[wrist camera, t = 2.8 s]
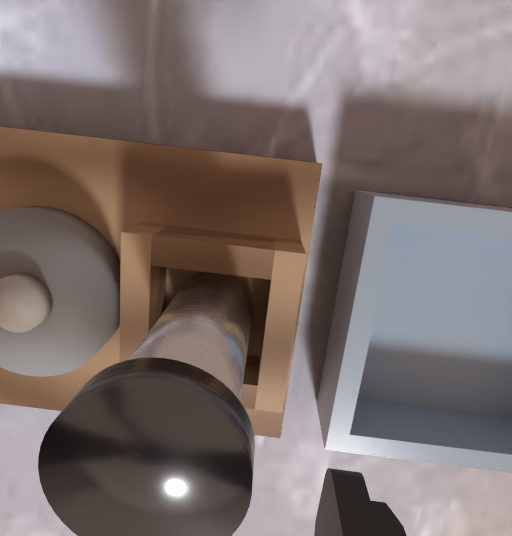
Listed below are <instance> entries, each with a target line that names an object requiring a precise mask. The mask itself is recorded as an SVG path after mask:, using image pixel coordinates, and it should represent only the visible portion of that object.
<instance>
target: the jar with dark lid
mask: <svg viewBox="0 0 512 536" xmlns="http://www.w3.org/2000/svg"><path fill="white" fill-rule="evenodd" d="M252 313H253V300H252V296H251V293H250V291H249V289H248V288H247V286H246V285H245V284H244V282H243V281H242V280H241V279H239V278H238V277H237V276H235V275H226V274H218V273H210V272H198V273H196V274H194V275H193V276H192V277H190V278H189V279H188V280H187V281H186V282H185V283H184V285H183V286H182V287H181V289H180V290H179V292H178V293H177V294H176V296H175V297H174V298H173V300H172V301H171V302H170V304H169V305H168V307H167V308H166V309H165V311H164V312H163V313H162V315H161V316H160V318H159V319H158V320H157V322H156V323H155V324H154V326H153V327H152V329H151V330H150V331H149V333H148V334H147V335H146V337H145V338H144V339H143V341H142V342H141V344H140V345H139V346H138V348H137V349H136V350H135V352H134V353H133V355H132V356H131V357H130V359H129V360H126V361H123V362H120V363H116V364H114V365H112V366H110V367H107V368H105V369H103V370H102V371H100V372H99V373H97V374H96V375H94V376H93V377H92V378H91V379H90V380H89V381H88V382H87V383H86V384H85V385H84V386H83V387H82V388H81V390H80V391H79V392H78V393H77V394H76V395H75V397H74V398H73V399H72V400H71V401H70V403H69V404H68V405H67V406H66V407H65V408H64V410H63V411H62V412H61V413H60V414H59V416H58V417H57V418H56V419H55V420H54V422H53V423H52V424H51V425H50V427H49V429H48V431H47V432H46V434H45V436H44V439H43V441H42V444H41V447H40V453H39V462H38V470H39V477H40V482H41V485H42V489H43V492H44V494H45V496H46V498H47V500H48V502H49V504H50V506H51V507H52V509H53V510H54V512H55V513H56V514H57V516H58V517H59V518H60V519H61V521H62V522H63V523H64V524H65V525H66V526H67V527H68V528H69V529H70V530H71V531H73V532H74V533H75V534H76V535H78V536H231V535H232V534H233V533H234V532H235V531H236V530H237V528H238V527H239V526H240V524H241V522H242V521H243V519H244V518H245V515H246V513H247V510H248V508H249V505H250V500H251V495H252V480H253V464H254V448H255V441H254V432H253V428H252V424H251V421H250V419H249V416H248V414H247V412H246V410H245V408H244V407H243V405H242V403H241V394H242V387H243V380H244V372H245V365H246V357H247V350H248V343H249V335H250V328H251V321H252Z"/></svg>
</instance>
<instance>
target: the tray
mask: <svg viewBox="0 0 512 536" xmlns="http://www.w3.org/2000/svg"><path fill="white" fill-rule="evenodd" d="M317 408H318V414H319V419H320V425H321V430H322V436H323V441H324V447H325V450H332V451H340V452H349V453H357V454H365V455H373V456H381V457H389V458H397V459H405V460H413V461H421V462H429V463H437V464H445V465H453V466H461V467H469V468H477V469H485V470H494V471H502V472H510V473H512V208H509V207H501V206H492V205H483V204H475V203H466V202H457V201H449V200H440V199H432V198H423V197H414V196H406V195H397V194H388V193H380V192H371V191H363V190H355V193H354V198H353V204H352V209H351V215H350V221H349V226H348V232H347V237H346V243H345V248H344V254H343V259H342V265H341V270H340V276H339V281H338V287H337V292H336V298H335V303H334V309H333V315H332V320H331V326H330V331H329V337H328V342H327V348H326V353H325V359H324V364H323V370H322V375H321V381H320V386H319V392H318V398H317Z"/></svg>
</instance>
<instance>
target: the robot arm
mask: <svg viewBox="0 0 512 536" xmlns="http://www.w3.org/2000/svg"><path fill="white" fill-rule="evenodd" d="M315 536H406V533H405V530H404V527H403V525H402V524H401V523H400V521H399V520H398V519H397V517H396V516H395V515H394V513H393V512H392V511H391V509H390V508H389V507H388V505H387V504H386V503H383V502H376V501H370V498H369V494H368V491H367V487H366V484H365V480H364V477H363V475H362V474H361V473H359V472H352V471H345V470H337V469H330V468H328V469H327V471H326V474H325V479H324V483H323V488H322V493H321V498H320V503H319V508H318V512H317V517H316V524H315Z"/></svg>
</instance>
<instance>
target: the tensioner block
mask: <svg viewBox="0 0 512 536" xmlns="http://www.w3.org/2000/svg"><path fill="white" fill-rule="evenodd" d="M321 169H322V163H313V162H304V161H296V160H287V159H278V158H269V157H261V156H252V155H243V154H235V153H226V152H217V151H209V150H200V149H191V148H183V147H174V146H165V145H157V144H148V143H139V142H130V141H122V140H113V139H104V138H96V137H87V136H78V135H70V134H61V133H52V132H44V131H35V130H26V129H17V128H9V127H0V403H2V404H10V405H18V406H26V407H34V408H42V409H50V410H58V411H63V410H64V408H65V407H66V406H67V405H68V404H69V403H70V401H71V400H72V399H73V398H74V397H75V395H76V394H77V393H78V392H79V391H80V390H81V388H82V387H83V386H84V385H85V384H86V383H87V382H88V381H89V380H90V379H91V378H92V377H93V376H94V375H96V374H97V373H99V372H100V371H102V370H103V369H105V368H107V367H110V366H112V365H114V364H116V363H120V362H123V361H126V360H129V359H130V357H131V356H132V355H133V353H134V352H135V350H136V349H137V348H138V346H139V345H140V344H141V342H142V341H143V339H144V338H145V337H146V335H147V334H148V333H149V331H150V330H151V329H152V327H153V326H154V324H155V323H156V322H157V320H158V319H159V318H160V316H161V315H162V313H163V312H164V311H165V309H166V308H167V307H168V305H169V304H170V302H171V301H172V300H173V298H174V297H175V296H176V294H177V293H178V292H179V290H180V289H181V287H182V286H183V285H184V283H185V282H186V281H187V280H188V279H189V278H190V277H192V276H193V275H194V274H196V273H198V272H210V273H218V274H226V275H235V276H237V277H238V278H239V279H241V280H242V281H243V282H244V284H245V285H246V286H247V288H248V289H249V291H250V293H251V296H252V300H253V313H252V321H251V328H250V335H249V343H248V350H247V357H246V365H245V372H244V380H243V387H242V394H241V403H242V405H243V407H244V408H245V410H246V412H247V414H248V416H249V419H250V421H251V424H252V428H253V432H254V435H260V436H268V437H276V438H280V435H281V429H282V422H283V416H284V409H285V403H286V396H287V390H288V383H289V377H290V370H291V364H292V357H293V351H294V344H295V338H296V331H297V325H298V318H299V312H300V305H301V299H302V292H303V286H304V279H305V273H306V266H307V260H308V253H309V247H310V240H311V234H312V227H313V221H314V214H315V208H316V201H317V195H318V188H319V182H320V175H321Z"/></svg>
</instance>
